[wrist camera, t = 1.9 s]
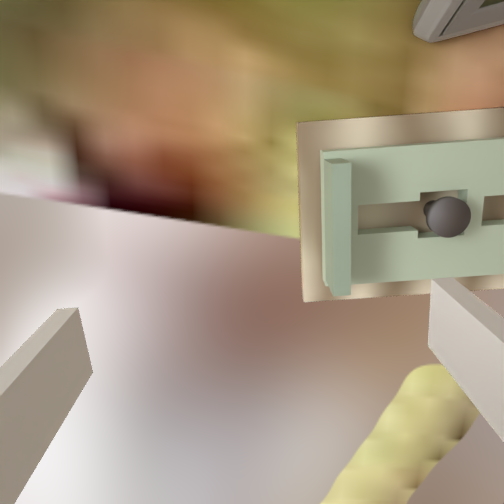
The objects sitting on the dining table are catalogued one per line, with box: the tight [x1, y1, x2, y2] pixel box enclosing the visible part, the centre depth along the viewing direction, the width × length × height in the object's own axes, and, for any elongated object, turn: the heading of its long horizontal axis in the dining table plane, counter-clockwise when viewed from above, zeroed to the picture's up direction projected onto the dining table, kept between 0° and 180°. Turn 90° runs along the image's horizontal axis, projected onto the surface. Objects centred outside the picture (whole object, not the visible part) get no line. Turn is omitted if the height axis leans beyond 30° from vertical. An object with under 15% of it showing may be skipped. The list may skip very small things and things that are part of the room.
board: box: [296, 107, 504, 302], centre depth 31 cm, size 29×14×4 cm, turn 94°
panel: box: [320, 137, 504, 296], centre depth 30 cm, size 22×10×4 cm, turn 94°
